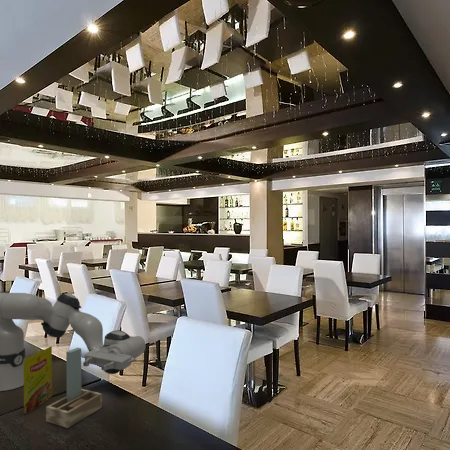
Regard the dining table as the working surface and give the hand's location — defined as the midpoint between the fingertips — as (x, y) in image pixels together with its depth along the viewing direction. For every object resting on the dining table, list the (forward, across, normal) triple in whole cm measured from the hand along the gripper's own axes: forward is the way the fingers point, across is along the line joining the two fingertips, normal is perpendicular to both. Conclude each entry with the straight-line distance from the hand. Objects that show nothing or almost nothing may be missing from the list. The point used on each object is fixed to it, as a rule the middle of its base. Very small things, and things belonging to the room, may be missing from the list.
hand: (93, 366), depth 147 cm
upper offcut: (+12, -5, -11) cm, 17 cm away
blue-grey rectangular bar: (+9, 0, -13) cm, 16 cm away
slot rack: (+11, -3, -13) cm, 17 cm away
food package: (+12, +15, -13) cm, 24 cm away
